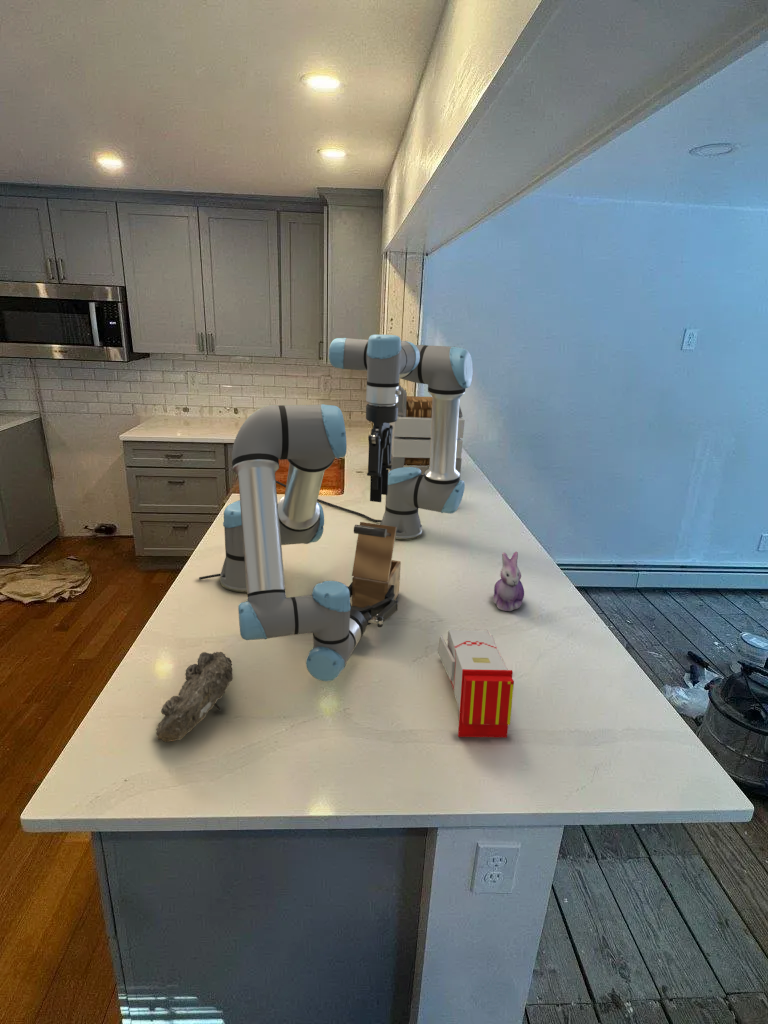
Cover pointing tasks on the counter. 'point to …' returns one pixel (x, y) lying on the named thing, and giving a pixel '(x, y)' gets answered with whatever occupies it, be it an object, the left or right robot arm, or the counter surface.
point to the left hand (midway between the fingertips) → (373, 586)
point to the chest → (375, 587)
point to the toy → (478, 682)
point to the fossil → (195, 695)
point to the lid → (373, 551)
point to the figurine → (509, 585)
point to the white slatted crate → (416, 432)
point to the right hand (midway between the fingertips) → (378, 497)
